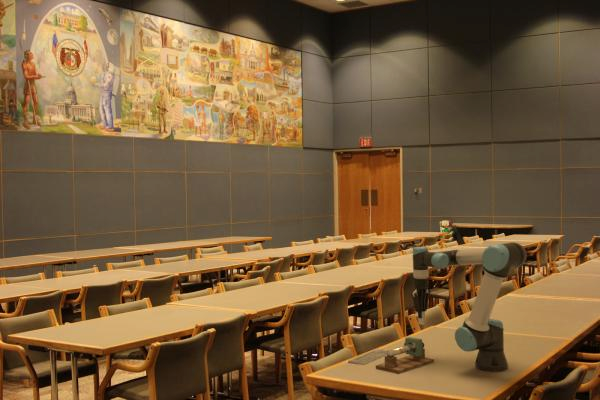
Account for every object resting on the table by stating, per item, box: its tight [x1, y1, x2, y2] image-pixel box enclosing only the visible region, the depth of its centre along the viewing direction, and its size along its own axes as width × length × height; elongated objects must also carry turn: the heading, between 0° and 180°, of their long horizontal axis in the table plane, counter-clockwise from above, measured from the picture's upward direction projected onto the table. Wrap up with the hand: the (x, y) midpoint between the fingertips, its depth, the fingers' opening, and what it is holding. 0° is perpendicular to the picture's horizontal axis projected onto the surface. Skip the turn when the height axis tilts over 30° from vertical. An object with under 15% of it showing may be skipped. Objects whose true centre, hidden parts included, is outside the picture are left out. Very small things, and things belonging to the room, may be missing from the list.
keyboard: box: [347, 348, 388, 366], centre depth 355 cm, size 29×10×2 cm, turn 145°
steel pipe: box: [386, 343, 423, 357], centre depth 338 cm, size 24×3×3 cm, turn 133°
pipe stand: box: [375, 347, 435, 375], centre depth 338 cm, size 28×14×6 cm, turn 133°
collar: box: [404, 336, 423, 356], centre depth 342 cm, size 3×8×8 cm, turn 43°
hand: (421, 324), depth 347 cm, fingers closed
